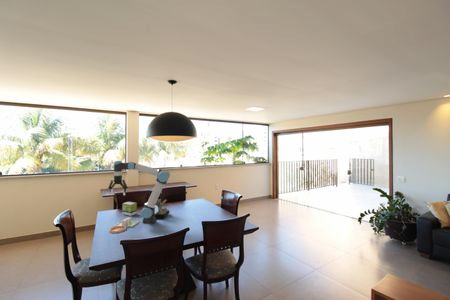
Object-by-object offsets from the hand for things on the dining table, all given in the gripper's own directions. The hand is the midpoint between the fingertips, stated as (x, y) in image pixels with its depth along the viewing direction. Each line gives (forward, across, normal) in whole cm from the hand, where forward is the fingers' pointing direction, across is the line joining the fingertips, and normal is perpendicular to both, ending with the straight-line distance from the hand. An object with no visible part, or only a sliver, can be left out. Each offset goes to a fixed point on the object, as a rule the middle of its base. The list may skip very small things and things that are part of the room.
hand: (118, 195), depth 223 cm
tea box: (+35, +12, -48) cm, 61 cm away
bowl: (+35, -4, +7) cm, 36 cm away
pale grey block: (+34, -4, -6) cm, 35 cm away
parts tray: (+35, -4, -9) cm, 36 cm away
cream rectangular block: (+34, -4, -12) cm, 37 cm away
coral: (+35, -29, -42) cm, 62 cm away
